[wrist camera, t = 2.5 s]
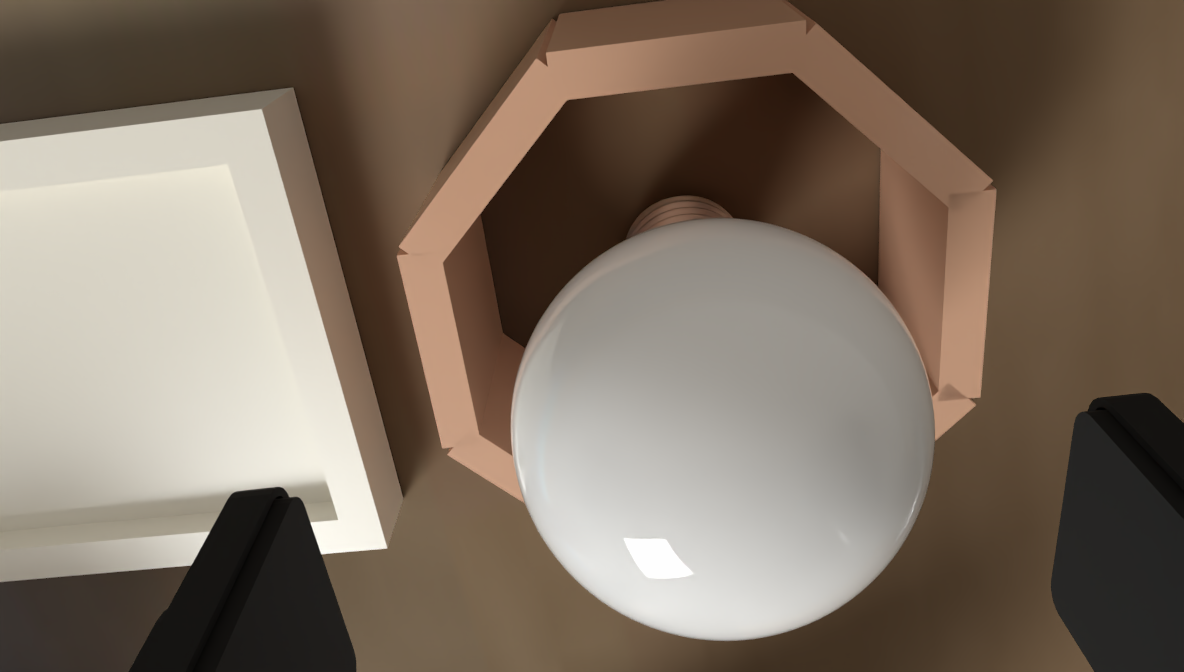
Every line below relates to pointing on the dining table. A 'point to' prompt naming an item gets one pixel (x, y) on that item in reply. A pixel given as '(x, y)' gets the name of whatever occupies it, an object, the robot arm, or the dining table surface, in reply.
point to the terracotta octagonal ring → (671, 59)
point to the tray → (175, 339)
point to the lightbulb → (722, 426)
